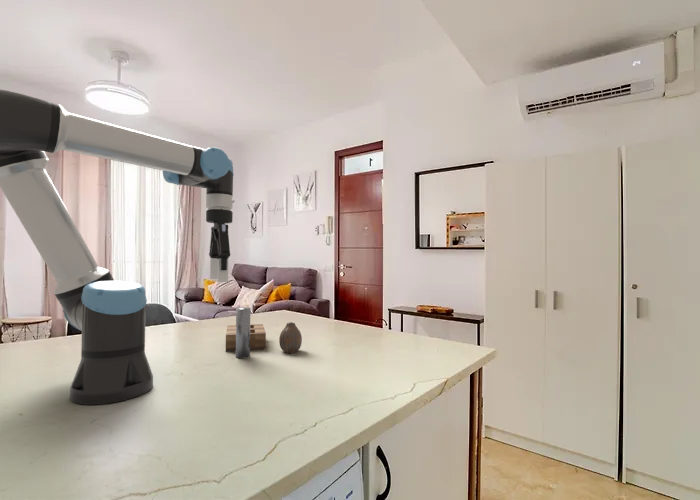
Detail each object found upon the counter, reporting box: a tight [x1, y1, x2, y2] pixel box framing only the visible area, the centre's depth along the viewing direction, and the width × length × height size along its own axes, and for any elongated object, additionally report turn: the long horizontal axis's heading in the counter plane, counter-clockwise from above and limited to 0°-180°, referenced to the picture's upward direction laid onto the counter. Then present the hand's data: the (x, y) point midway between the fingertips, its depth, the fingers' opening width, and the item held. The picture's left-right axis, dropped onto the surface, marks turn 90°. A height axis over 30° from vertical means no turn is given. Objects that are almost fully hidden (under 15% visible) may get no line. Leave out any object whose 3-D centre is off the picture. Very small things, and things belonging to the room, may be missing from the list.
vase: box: [278, 321, 303, 354], centre depth 116 cm, size 7×7×9 cm
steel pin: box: [235, 307, 251, 359], centre depth 110 cm, size 4×4×14 cm
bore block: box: [225, 323, 267, 352], centre depth 125 cm, size 16×12×5 cm
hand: (218, 280), depth 113 cm, fingers open, 13 cm apart
